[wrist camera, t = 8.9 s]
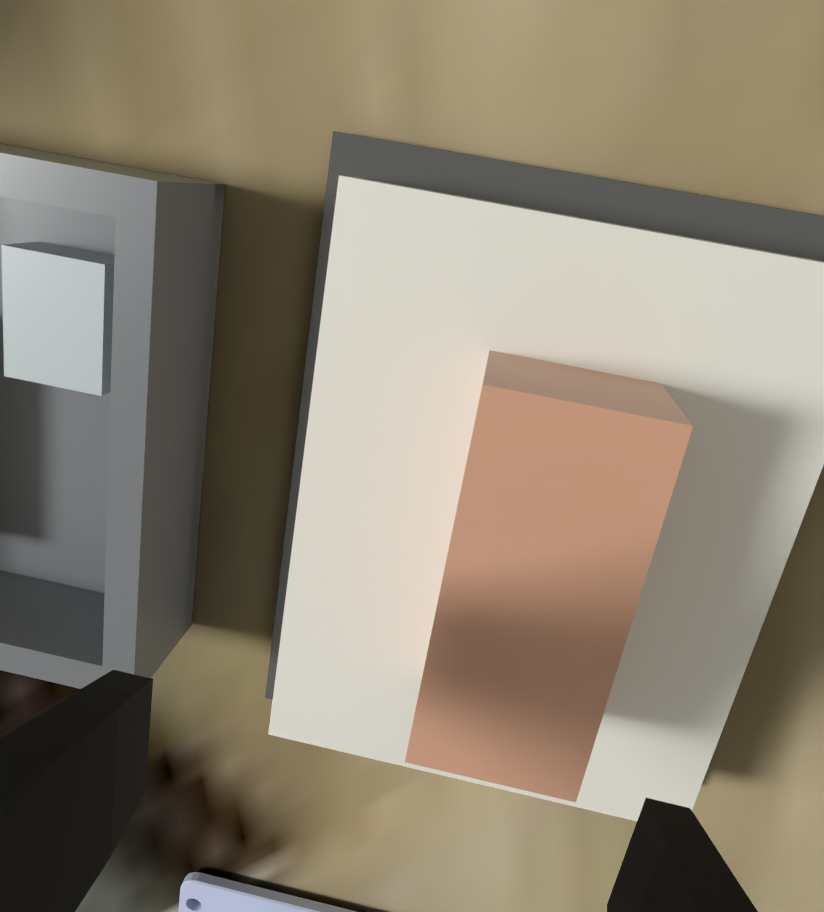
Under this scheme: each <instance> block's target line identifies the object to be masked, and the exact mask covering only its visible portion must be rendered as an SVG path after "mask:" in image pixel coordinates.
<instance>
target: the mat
mask: <svg viewBox="0 0 824 912" xmlns="http://www.w3.org/2000/svg"><path fill="white" fill-rule="evenodd" d="M339 175H340V176H349V177H357V178H364V179H369V180H375V181H380V182H386V183H391V184H397V185H402V186H408V187H413V188H419V189H425V190H430V191H436V192H441V193H447V194H452V195H458V196H463V197H469V198H475V199H480V200H486V201H491V202H497V203H502V204H508V205H513V206H519V207H525V208H530V209H536V210H541V211H547V212H552V213H558V214H563V215H569V216H574V217H580V218H586V219H591V220H597V221H602V222H608V223H613V224H619V225H624V226H630V227H636V228H641V229H647V230H652V231H658V232H663V233H669V234H674V235H680V236H685V237H691V238H697V239H702V240H708V241H713V242H719V243H724V244H730V245H735V246H741V247H747V248H752V249H758V250H763V251H769V252H774V253H780V254H785V255H791V256H796V257H802V258H808V259H813V260H819V261H824V216H818V215H812V214H806V213H801V212H795V211H789V210H783V209H778V208H772V207H766V206H760V205H755V204H749V203H743V202H737V201H732V200H726V199H720V198H714V197H709V196H703V195H697V194H691V193H686V192H680V191H674V190H668V189H663V188H657V187H651V186H646V185H640V184H634V183H628V182H623V181H617V180H611V179H605V178H600V177H594V176H588V175H582V174H577V173H571V172H565V171H559V170H554V169H548V168H542V167H536V166H531V165H525V164H519V163H513V162H508V161H502V160H496V159H490V158H485V157H479V156H473V155H467V154H462V153H456V152H450V151H444V150H439V149H433V148H427V147H421V146H416V145H410V144H404V143H398V142H393V141H387V140H381V139H375V138H370V137H364V136H358V135H352V134H347V133H341V132H335V131H333V138H332V146H331V154H330V163H329V171H328V179H327V188H326V196H325V204H324V213H323V221H322V229H321V238H320V246H319V254H318V263H317V271H316V279H315V288H314V296H313V304H312V313H311V321H310V329H309V338H308V346H307V355H306V363H305V371H304V380H303V388H302V396H301V405H300V413H299V421H298V430H297V438H296V446H295V455H294V463H293V471H292V480H291V488H290V496H289V505H288V513H287V521H286V530H285V538H284V546H283V555H282V563H281V571H280V580H279V588H278V596H277V605H276V613H275V621H274V630H273V638H272V646H271V655H270V663H269V671H268V680H267V688H266V696H265V698H269V699H273V693H274V685H275V677H276V669H277V661H278V653H279V646H280V638H281V630H282V622H283V614H284V606H285V598H286V590H287V582H288V574H289V566H290V559H291V551H292V543H293V535H294V527H295V519H296V511H297V503H298V495H299V487H300V479H301V471H302V464H303V456H304V448H305V440H306V432H307V424H308V416H309V408H310V400H311V392H312V384H313V377H314V369H315V361H316V353H317V345H318V337H319V329H320V321H321V313H322V305H323V297H324V289H325V282H326V274H327V266H328V258H329V250H330V242H331V234H332V226H333V218H334V210H335V202H336V194H337V187H338V179H339Z"/></svg>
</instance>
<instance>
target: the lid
mask: <svg viewBox="0 0 824 912" xmlns="http://www.w3.org/2000/svg"><path fill="white" fill-rule="evenodd" d="M823 465H824V261H819V260H813V259H808V258H802V257H796V256H791V255H785V254H780V253H774V252H769V251H763V250H758V249H752V248H747V247H741V246H735V245H730V244H724V243H719V242H713V241H708V240H702V239H697V238H691V237H685V236H680V235H674V234H669V233H663V232H658V231H652V230H647V229H641V228H636V227H630V226H624V225H619V224H613V223H608V222H602V221H597V220H591V219H586V218H580V217H574V216H569V215H563V214H558V213H552V212H547V211H541V210H536V209H530V208H525V207H519V206H513V205H508V204H502V203H497V202H491V201H486V200H480V199H475V198H469V197H463V196H458V195H452V194H447V193H441V192H436V191H430V190H425V189H419V188H413V187H408V186H402V185H397V184H391V183H386V182H380V181H375V180H369V179H364V178H357V177H349V176H340V175H339V179H338V187H337V194H336V202H335V210H334V218H333V226H332V234H331V242H330V250H329V258H328V266H327V274H326V282H325V289H324V297H323V305H322V313H321V321H320V329H319V337H318V345H317V353H316V361H315V369H314V377H313V384H312V392H311V400H310V408H309V416H308V424H307V432H306V440H305V448H304V456H303V464H302V471H301V479H300V487H299V495H298V503H297V511H296V519H295V527H294V535H293V543H292V551H291V559H290V566H289V574H288V582H287V590H286V598H285V606H284V614H283V622H282V630H281V638H280V646H279V653H278V661H277V669H276V677H275V685H274V693H273V701H272V709H271V717H270V725H269V733H268V734H269V735H273V736H278V737H282V738H286V739H290V740H295V741H299V742H303V743H307V744H312V745H316V746H320V747H324V748H329V749H333V750H337V751H341V752H345V753H350V754H354V755H358V756H362V757H367V758H371V759H375V760H379V761H384V762H388V763H392V764H396V765H401V766H405V767H409V768H413V769H418V770H422V771H426V772H430V773H434V774H439V775H443V776H447V777H451V778H456V779H460V780H464V781H468V782H473V783H477V784H481V785H485V786H490V787H494V788H498V789H502V790H506V791H511V792H515V793H519V794H523V795H528V796H532V797H536V798H540V799H545V800H549V801H553V802H557V803H562V804H566V805H570V806H574V807H578V808H583V809H587V810H591V811H595V812H600V813H604V814H608V815H612V816H617V817H621V818H625V819H629V820H634V821H638V818H639V815H640V812H641V810H642V807H643V804H644V801H645V799H646V798H650V799H654V800H658V801H662V802H667V803H671V804H675V805H679V806H683V807H687V808H690V809H691V811H692V809H693V806H694V803H695V801H696V798H697V796H698V793H699V790H700V788H701V785H702V782H703V780H704V777H705V775H706V772H707V769H708V767H709V764H710V761H711V759H712V756H713V754H714V751H715V748H716V746H717V743H718V740H719V738H720V735H721V733H722V730H723V727H724V725H725V722H726V719H727V717H728V714H729V712H730V709H731V706H732V704H733V701H734V698H735V696H736V693H737V691H738V688H739V685H740V683H741V680H742V678H743V675H744V672H745V670H746V667H747V664H748V662H749V659H750V657H751V654H752V651H753V649H754V646H755V643H756V641H757V638H758V636H759V633H760V630H761V628H762V625H763V622H764V620H765V617H766V615H767V612H768V609H769V607H770V604H771V601H772V599H773V596H774V594H775V591H776V588H777V586H778V583H779V580H780V578H781V575H782V573H783V570H784V567H785V565H786V562H787V559H788V557H789V554H790V552H791V549H792V546H793V544H794V541H795V538H796V536H797V533H798V531H799V528H800V525H801V523H802V520H803V517H804V515H805V512H806V510H807V507H808V504H809V502H810V499H811V496H812V494H813V491H814V489H815V486H816V483H817V481H818V478H819V476H820V473H821V470H822V468H823Z"/></svg>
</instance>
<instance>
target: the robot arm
mask: <svg viewBox="0 0 824 912" xmlns="http://www.w3.org/2000/svg"><path fill="white" fill-rule="evenodd" d="M152 686H153V679H151V678H147V677H142V676H138V675H134V674H130V673H126V672H122V671H117V670H112V671H110V672H109V673H107V674H105V675H103V676H102V677H100V678H98V679H97V680H95V681H93V682H92V683H90V684H88V685H87V686H85V687H83V688H82V689H80V690H78V691H77V692H75V693H73V694H72V695H70V696H68V697H67V698H65V699H63V700H62V701H60V702H59V703H57V704H55V705H54V706H52V707H50V708H49V709H47V710H45V711H44V712H42V713H40V714H39V715H37V716H35V717H34V718H32V719H31V720H29V721H27V722H26V723H24V724H22V725H20V726H19V727H17V728H15V729H14V730H12V731H10V732H8V733H7V734H5V735H3V736H2V737H0V912H75V910H76V909H77V907H78V906H79V904H80V903H81V901H82V900H83V898H84V897H85V895H86V894H87V892H88V891H89V889H90V888H91V886H92V885H93V883H94V881H95V880H96V878H97V877H98V875H99V874H100V872H101V871H102V869H103V868H104V866H105V864H106V863H107V861H108V860H109V858H110V857H111V855H112V853H113V851H114V849H115V847H116V845H117V843H118V841H119V840H120V838H121V836H122V834H123V832H124V830H125V828H126V826H127V824H128V822H129V820H130V818H131V816H132V814H133V812H134V810H135V808H136V806H137V804H138V802H139V800H140V798H141V796H142V794H143V792H144V790H145V783H146V769H147V755H148V741H149V728H150V714H151V700H152ZM179 912H357V911H353V910H349V909H345V908H341V907H337V906H333V905H329V904H325V903H321V902H317V901H313V900H309V899H305V898H301V897H297V896H293V895H289V894H285V893H281V892H277V891H273V890H269V889H265V888H261V887H257V886H253V885H249V884H245V883H241V882H237V881H233V880H229V879H225V878H221V877H217V876H213V875H209V874H205V873H200V872H193V873H189V874H188V875H187V876H186V877H185V879H184V881H183V883H182V885H181V888H180V900H179ZM607 912H758V911H757V910H756V908H755V907H754V905H753V904H752V902H751V901H750V899H749V898H748V896H747V895H746V893H745V892H744V890H743V889H742V887H741V886H740V884H739V883H738V881H737V880H736V878H735V877H734V875H733V874H732V872H731V870H730V869H729V867H728V866H727V864H726V863H725V861H724V860H723V858H722V857H721V855H720V853H719V852H718V850H717V849H716V847H715V846H714V844H713V843H712V841H711V840H710V838H709V836H708V835H707V833H706V832H705V830H704V829H703V827H702V826H701V824H700V823H699V821H698V820H697V818H696V817H695V815H694V814H693V812H692V811H691V809H690V808H687V807H683V806H679V805H675V804H671V803H667V802H662V801H658V800H654V799H650V798H646V799H645V801H644V804H643V807H642V810H641V812H640V815H639V818H638V821H637V824H636V826H635V829H634V832H633V835H632V837H631V840H630V843H629V846H628V849H627V851H626V854H625V857H624V860H623V862H622V865H621V868H620V871H619V873H618V876H617V879H616V882H615V885H614V887H613V890H612V893H611V896H610V898H609V901H608V904H607Z"/></svg>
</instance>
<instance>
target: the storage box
mask: <svg viewBox="0 0 824 912" xmlns="http://www.w3.org/2000/svg"><path fill="white" fill-rule="evenodd" d="M224 195H225V184H222V183H216V182H211V181H205V180H200V179H194V178H189V177H183V176H178V175H172V174H167V173H161V172H156V171H150V170H145V169H139V168H133V167H128V166H122V165H117V164H111V163H106V162H100V161H95V160H89V159H84V158H78V157H73V156H67V155H62V154H56V153H51V152H45V151H40V150H34V149H29V148H23V147H18V146H12V145H6V144H1V143H0V670H3V671H7V672H11V673H16V674H20V675H24V676H28V677H33V678H37V679H41V680H45V681H50V682H54V683H58V684H63V685H67V686H71V687H75V688H80V689H82V688H83V687H85V686H87V685H88V684H90V683H92V682H93V681H95V680H97V679H98V678H100V677H102V676H103V675H105V674H107V673H109V672H110V671H112V670H117V671H122V672H126V673H130V674H134V675H138V676H142V677H147V678H151V677H152V675H153V674H154V673H155V672H156V670H157V669H158V668H159V666H160V665H161V664H162V662H163V661H164V660H165V659H166V657H167V656H168V655H169V653H170V652H171V651H172V649H173V648H174V647H175V646H176V644H177V643H178V642H179V640H180V639H181V638H182V636H183V635H184V634H185V633H186V631H187V630H188V629H189V627H190V626H191V625H192V614H193V601H194V588H195V575H196V562H197V549H198V535H199V522H200V509H201V496H202V483H203V470H204V457H205V444H206V431H207V417H208V404H209V391H210V378H211V365H212V352H213V339H214V326H215V313H216V299H217V286H218V273H219V260H220V247H221V234H222V221H223V208H224Z"/></svg>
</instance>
